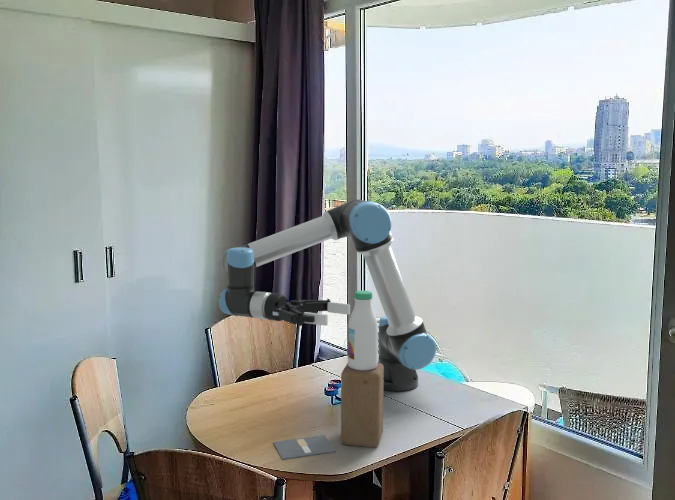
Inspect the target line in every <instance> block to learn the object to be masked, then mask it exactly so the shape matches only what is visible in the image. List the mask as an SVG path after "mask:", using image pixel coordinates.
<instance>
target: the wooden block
mask: <svg viewBox="0 0 675 500" xmlns="http://www.w3.org/2000/svg"><path fill="white" fill-rule="evenodd" d="M340 376H341V377H340V378H341V379H340V380H341V381H340V387H341V388H340V442H341V444H342V445H346V446H356V447H367V448H377V447H378V446H379V444H380V442H381V439H382V435H383V431H384V389H383V388H384V366H383V364H381V363H378V362H377V367H376V368H375V369H372V370H367V371H360V370H354V369H351V368H350V367H349V366H348V362H347V363H346V365H345V366H344V368H343V369H342V371H341V374H340Z"/></svg>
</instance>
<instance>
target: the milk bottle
mask: <svg viewBox="0 0 675 500" xmlns="http://www.w3.org/2000/svg"><path fill="white" fill-rule="evenodd" d="M353 297H354V303H355V304H354V307H353V310H352V312H351V313H350V315H349V320H348V329H347V332H348V334H347V337H348V338H347V353H348V354H347V363H348V366H349V367H350V368H351V369H354V370H360V371H367V370H372V369H375V368H376V367H377V363H378V358H379V328H378V326H379V323H378V319H377V316H376V313H375V312H374V311H375V310H374V309H373V306H372V305H373V304H372V301H373V292H372V291H370V290H357V291H355V292H354V296H353Z"/></svg>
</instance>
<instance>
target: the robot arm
mask: <svg viewBox="0 0 675 500" xmlns="http://www.w3.org/2000/svg"><path fill="white" fill-rule="evenodd" d="M391 230H392V217H391V214H390V212H389V211H388V210H387V208H385V207H384V205H381V204H380V203H378V202H376V201H372V200H365V199H353V200H349V201H347V202H345V203H342V204H340V205H337V206H336V207H334V208H330V209H328V210H326V211H324V212H323V214H322V216H319V217H316V218H313V219H311V220H308V221H306V222H303V223H299V224H297V225H295V226H292V227H290V228H287V229H283V230H282V231H278V232H276V233H274V234H271V235H269V236H265V237H263V238H260V239H257V240H255V241H252V242H249V243H247V244H244V245H241V246H237V247H230V248H229V249H227V250H226V251H225V252H224V253H223V256H222V259H221V260H222V261H221V262H222V266H223V267H222V268H223V269H224V270H225V271H226V275H227V288H224V289H223V290H222V291H221V292H220V293H219V299H218V307H219V309H220V311H221V312H222V313H224V314H227V315H231V316H234V317H245V318H254V319H259V321H263V320H268V321H273V322H274V321H275V322H282V321H284V322H286V323H290V324H292V325H297V324H298V325H297V326H298V327H302V326H303V325H304V324H308V325H309V324H310V325H318V326H324V327H325V326H329V325H328V319H329V317H328V316H329V315H328V314H324V313H318V312H327V313H330V314H331V313H332V314H340V315H349V316H350V315H351V304H350V303H349V304H348V303H339V302H332V301H331V300H330V299H329V298H327V299H326V300H325V299H294V300H290V301H289V300H288V298H287V296H286V295H285V294H282V293H276V292H267V291H256V290H255V268H257V267H261V266H262V265H265V264H268V263H271V262H272V261H273V262H274V261H275V260H278V259H281V258H283V257H284V258H285V257H286V256H289V255H291V254H294V253H296V252H299V251H302V250H304V249H308V248H309V247H312V246H315V245H318V244H320V243H323V242H326V241H329V240H334V241H338V240H340V239H344V238H347V237H348V238H351V240H352V242H353V246H354V248H355V252H356V253H358V254H360V255H363V258H364V261H365V264H366V266H367V269H368V271H369V274H370V277H371V279H372V283H373V285H374V288H375V290H376V293H377V296H378V299H379V301H380V304H381V307H382V309H383V311H384V315H385V316H381V318H379V321H378V361H377V363H381V364H383V366H384V388H383V391H384V390H385V391H390V392H407V391H411V390H414V389H416V388H417V387H418V386H419V376H418V371H417V370H422V369H424V368H426V367H428V366H429V365H430V364H431V363H432V362H433V360H434V357H436V353H437V345H436V342H435V340H434V339H433V337H432V336H431V335H429V334H428V332H427V329H426V327H425V326H426V325H424V324H425V323H424V321H423V319H422V318H421V317H420V316H417V315H416V314H415V311H414V308H413V304H412V302H411V300H410V297H409V293H408V290H407V287H406V285H405V283H404V279H403V277H402V274H401V272H400V268H399V265H398V263H397V260H396V258H395V255H394V252H393V249H392V246H391V244H392V242H393V241H394V236H393V233H392V231H391ZM316 312H317V313H316Z"/></svg>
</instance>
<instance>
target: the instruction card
mask: <svg viewBox="0 0 675 500" xmlns="http://www.w3.org/2000/svg"><path fill="white" fill-rule="evenodd" d="M272 443H273V445H274V447H275V449H276V450H277V453H278V454H279V457H280V458H281V460H282V461H284V460H290V459H297V458H303V457H312V456H317V455H318V456H319V455H324V454H325V455H326V454H330V453H336V452H337V449H336V448H335V447H334V446H333V445H332V443H331V442H330V441H329V440H328V438H327V437H326V435H325V434H323V435H321V434H320V435H314V436H308V437H301V438H294V439H293V438H291V439H286V440H285V439H284V440H278V441H273V442H272Z"/></svg>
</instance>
